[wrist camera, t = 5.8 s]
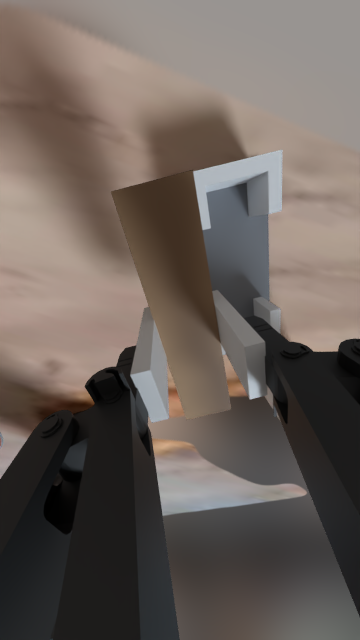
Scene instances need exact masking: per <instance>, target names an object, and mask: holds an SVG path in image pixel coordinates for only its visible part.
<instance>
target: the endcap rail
mask: <svg viewBox="0 0 360 640" xmlns="http://www.w3.org/2000/svg"><path fill="white" fill-rule="evenodd" d="M193 174H194V180H195V186H196V192H197V199H198V205H199V211H200V217H201V224H202V230H203V236H204V242H205V249H206V255H207V261H208V267H209V273H210V280H211V286H212V291H215V290H218V291H219V292H220V293H221V294H222V295H223V296H224V298H225V299H226V300H227V301H228V302H229V303H230V304H231V305H232V306H233V307H234V308H235V310H236V311H237V312H238V313H239V314H240V315H241V316H242V317H243V318H246V317H250V316H254V315H255V316H257V317H260V318H263V319H264V320H265V321H266V322H267V323H268V324H269V325H271V326H272V327H273V328H274V329H275V330H276V331H277V332H279V333H280V312H281V309H280V308H279V307H277V306H276V305H274V304H273V303H271V302H269V243H268V214H271V213H275V212H279V211H282V150H279V151H275V152H271V153H266V154H262V155H258V156H254V157H250V158H246V159H242V160H238V161H234V162H230V163H226V164H222V165H218V166H214V167H210V168H206V169H202V170H197V171H193ZM221 348H222V355H225V354H226V352H225V350H224V349H223V347H222V345H221Z"/></svg>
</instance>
